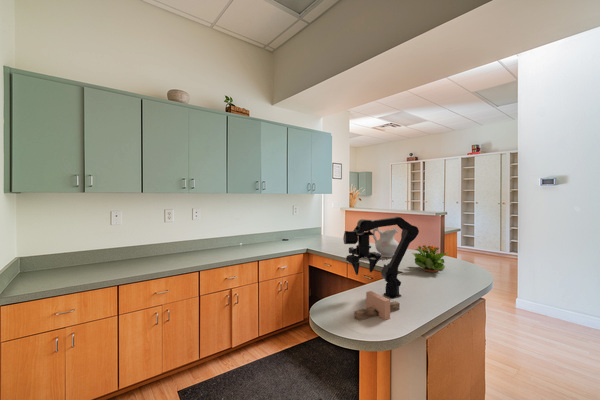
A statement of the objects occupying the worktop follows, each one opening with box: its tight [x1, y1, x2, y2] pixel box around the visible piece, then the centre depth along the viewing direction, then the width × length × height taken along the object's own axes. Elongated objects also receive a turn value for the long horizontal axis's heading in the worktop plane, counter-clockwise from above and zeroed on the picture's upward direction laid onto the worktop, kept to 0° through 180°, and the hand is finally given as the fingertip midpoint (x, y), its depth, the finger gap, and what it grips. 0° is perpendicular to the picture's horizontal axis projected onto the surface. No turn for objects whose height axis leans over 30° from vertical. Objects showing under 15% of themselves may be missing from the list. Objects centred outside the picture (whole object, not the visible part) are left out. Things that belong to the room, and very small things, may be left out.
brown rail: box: [353, 300, 400, 321], centre depth 122 cm, size 24×2×3 cm, turn 117°
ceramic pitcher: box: [371, 227, 399, 259], centre depth 234 cm, size 22×20×25 cm
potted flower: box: [412, 244, 449, 273], centre depth 189 cm, size 25×24×18 cm
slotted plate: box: [365, 290, 391, 320], centre depth 122 cm, size 3×12×8 cm, turn 27°
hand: (363, 273), depth 143 cm, fingers open, 9 cm apart
